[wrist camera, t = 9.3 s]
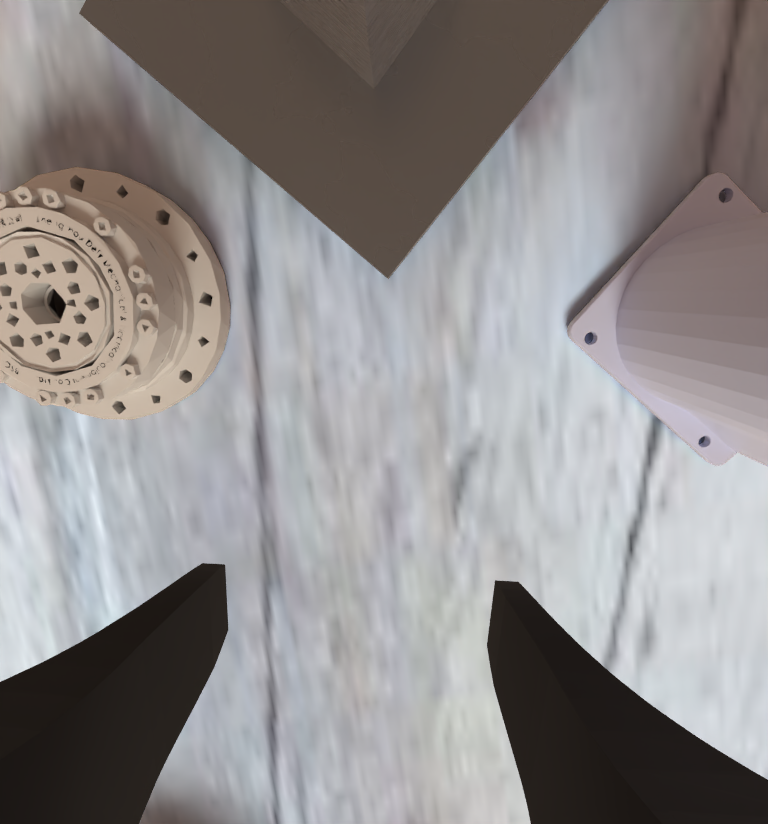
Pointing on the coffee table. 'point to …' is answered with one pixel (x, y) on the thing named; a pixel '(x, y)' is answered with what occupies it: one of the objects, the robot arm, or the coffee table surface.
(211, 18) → the post plate
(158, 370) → the mechanical component
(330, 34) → the collar
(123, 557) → the coffee table surface
